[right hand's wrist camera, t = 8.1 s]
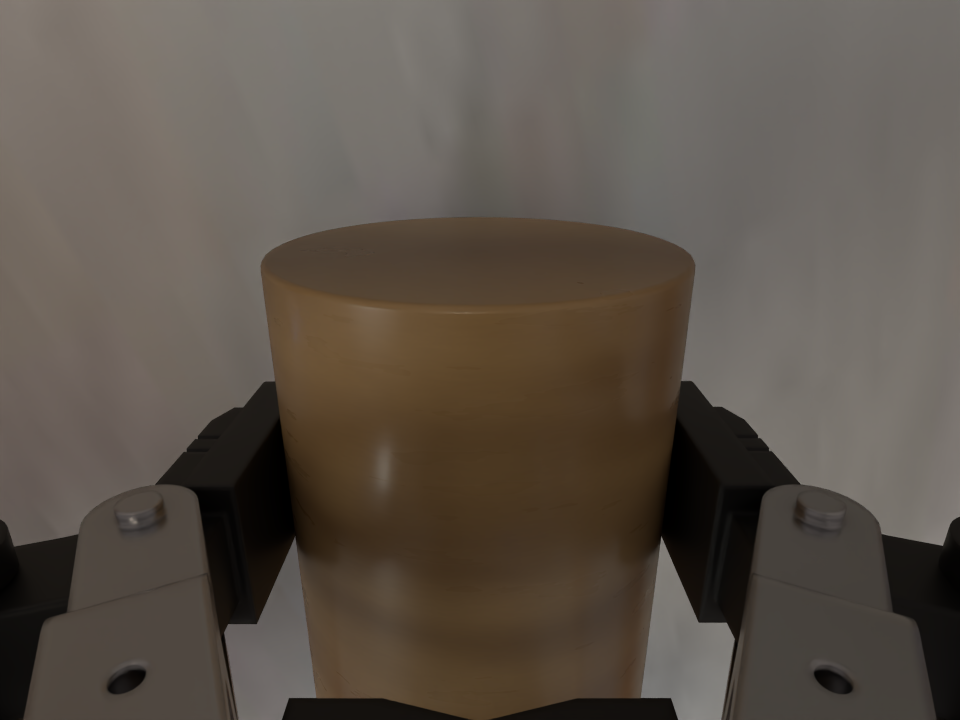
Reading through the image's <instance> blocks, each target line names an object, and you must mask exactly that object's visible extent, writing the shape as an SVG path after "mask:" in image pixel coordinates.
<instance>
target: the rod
mask: <svg viewBox="0 0 960 720" xmlns="http://www.w3.org/2000/svg"><path fill="white" fill-rule="evenodd" d="M694 275H695V262H694V260H693V258H692V256H691V255H690V254H689V253H688V252H687V251H685V250H684V249H682V248H681V247H679V246H677V245H675V244H673V243H670V242H668V241H665V240H663V239H660V238H657V237H654V236H650V235H647V234H643V233H639V232H635V231H631V230H626V229H620V228H615V227H609V226H602V225H596V224H588V223H580V222H570V221H559V220H546V219H529V218H502V217H456V218H429V219H412V220H398V221H388V222H378V223H370V224H362V225H355V226H348V227H342V228H337V229H332V230H326V231H322V232H318V233H314V234H310V235H306V236H303V237H300V238H297V239H294V240H291V241H289V242H286V243H284V244H282V245H280V246H278V247H276V248H274V249H272V250H271V251H270V252H269V253H267V254H266V255H265V257H264V258H263V260H262V263H261V276H262V283H263V291H264V299H265V306H266V314H267V322H268V329H269V337H270V345H271V352H272V360H273V368H274V375H275V383H276V391H277V398H278V406H279V414H280V421H281V429H282V437H283V444H284V452H285V460H286V467H287V475H288V483H289V490H290V498H291V506H292V513H293V521H294V529H295V536H296V544H297V551H298V559H299V567H300V574H301V582H302V590H303V597H304V605H305V613H306V620H307V628H308V636H309V643H310V651H311V659H312V666H313V674H314V682H315V689H316V697H317V698H384V699H388V700H392V701H396V702H401V703H405V704H409V705H413V706H417V707H421V708H425V709H429V710H434V711H438V712H442V713H446V714H450V715H454V716H458V717H462V718H467V719H471V720H489V719H493V718H498V717H502V716H506V715H510V714H514V713H518V712H522V711H526V710H531V709H535V708H539V707H543V706H547V705H551V704H555V703H559V702H564V701H568V700H572V699H576V698H641V690H642V683H643V675H644V667H645V659H646V651H647V643H648V636H649V628H650V620H651V612H652V604H653V596H654V589H655V581H656V573H657V565H658V557H659V549H660V542H661V534H662V526H663V518H664V510H665V502H666V494H667V487H668V479H669V471H670V463H671V455H672V447H673V440H674V432H675V424H676V416H677V408H678V400H679V393H680V385H681V377H682V369H683V361H684V353H685V346H686V338H687V330H688V322H689V314H690V306H691V299H692V291H693V283H694Z"/></svg>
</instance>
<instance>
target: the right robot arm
mask: <svg viewBox="0 0 960 720" xmlns="http://www.w3.org/2000/svg"><path fill="white" fill-rule="evenodd" d="M661 536H662V538H663V541H664V543H665V545H666V548H667V550H668V552H669V555H670V557H671V559H672V562H673V564H674V566H675V569H676V571H677V573H678V576H679V578H680V580H681V582H682V585H683V587H684V589H685V592H686V594H687V596H688V599H689V601H690V603H691V606H692V608H693V610H694V613H695V615H696V617H697V620H698V622H699V623H727V624H728V626H729V628H730V630H731V632H732V634H733V636H734V638H735V640H734V646H733V651H732V656H731V662H730V669H729V675H728V681H727V687H726V693H725V700H724V706H723V712H722V718H721V720H960V517H958V518H956V519H955V520H953V521H952V523H951V524H950V527H949V530H948V533H947V536H946V539H945V542H944V545H943V546H940V545H935V544H930V543H924V542H919V541H914V540H908V539H903V538H898V537H892V536H887V535H883V534H881V529H880V525H879V522H878V521H877V519H876V518H875V517H874V515H873V514H872V513H871V512H870V511H868V510H867V509H866V508H865V507H864V506H862V505H860V504H859V503H857V502H856V501H854V500H852V499H850V498H848V497H846V496H844V495H841V494H839V493H836V492H833V491H830V490H827V489H823V488H820V487H814V486H809V485H801V484H800V483H799V482H798V481H797V480H796V478H795V477H794V476H793V475H792V474H791V473H790V472H789V470H788V469H787V468H786V467H785V466H784V465H783V463H782V462H781V461H780V460H779V459H778V458H777V457H776V455H775V454H774V453H773V452H772V451H769V447H768V446H767V445H766V444H765V443H764V442H763V440H762V439H761V438H758V435H757V434H756V432H755V431H754V430H753V429H752V428H751V427H750V426H749V424H748V423H747V422H746V421H745V420H744V419H742V418H740V417H739V416H737V415H735V414H733V413H732V412H730V411H728V410H726V409H725V408H723V407H712V405H711V404H710V403H709V402H708V400H707V399H706V398H705V397H704V395H703V394H702V393H701V392H700V390H699V389H698V388H697V387H696V385H695V384H694V383H693V382H692V381H681V385H680V393H679V400H678V408H677V416H676V424H675V432H674V440H673V447H672V455H671V463H670V471H669V479H668V487H667V494H666V502H665V510H664V518H663V526H662V534H661ZM294 538H295V529H294V521H293V513H292V506H291V498H290V490H289V483H288V475H287V467H286V460H285V452H284V444H283V437H282V429H281V421H280V414H279V406H278V398H277V391H276V383H275V382H264V383H263V384H262V385H261V386H260V388H259V389H258V390H257V391H256V393H255V394H254V395H253V396H252V397H251V399H250V400H249V401H248V402H247V404H246V405H245V406H244V407H243V408H233V409H231V410H229V411H228V412H226V413H224V414H222V415H221V416H219V417H217V418H215V419H214V420H212V421H211V422H210V423H209V424H208V425H207V426H206V427H205V429H204V430H203V431H202V432H201V433H200V434H199V435H198V439H195V440H194V441H193V442H192V443H191V445H190V446H189V447H188V448H187V452H183V454H182V455H181V456H180V457H179V458H178V459H177V460H176V462H175V463H174V464H173V465H172V466H171V467H170V468H169V470H168V471H167V472H166V473H165V474H164V475H163V476H162V477H161V479H160V480H159V481H158V482H157V483H156V484H155V485H151V486H146V487H140V488H137V489H133V490H130V491H127V492H124V493H121V494H119V495H116V496H114V497H112V498H110V499H108V500H106V501H104V502H103V503H101V504H99V505H98V506H96V507H95V508H94V509H93V510H92V511H90V512H89V513H88V514H87V515H86V517H85V518H84V519H83V521H82V522H81V525H80V529H79V534H77V535H73V536H69V537H64V538H59V539H53V540H48V541H43V542H37V543H32V544H27V545H21V546H16V547H14V545H13V542H12V539H11V536H10V533H9V530H8V527H7V525H6V524H5V522H3V521H2V520H0V720H239V718H238V712H237V706H236V700H235V693H234V687H233V681H232V675H231V669H230V662H229V656H228V651H227V646H226V640H225V635H224V631H225V629H226V627H227V625H228V624H257V622H258V620H259V618H260V615H261V613H262V611H263V609H264V606H265V604H266V602H267V599H268V597H269V595H270V593H271V590H272V588H273V586H274V583H275V581H276V579H277V577H278V574H279V572H280V570H281V567H282V565H283V563H284V561H285V558H286V556H287V554H288V551H289V549H290V547H291V545H292V542H293V540H294ZM282 720H471V719H467V718H462V717H458V716H454V715H450V714H446V713H442V712H438V711H434V710H429V709H425V708H421V707H417V706H413V705H409V704H405V703H401V702H396V701H392V700H388V699H384V698H289V700H288V703H287V706H286V709H285V712H284V715H283V718H282ZM489 720H678V718H677V715H676V712H675V709H674V706H673V703H672V700H671V698H576V699H572V700H568V701H564V702H559V703H555V704H551V705H547V706H543V707H539V708H535V709H531V710H526V711H522V712H518V713H514V714H510V715H506V716H502V717H498V718H493V719H489Z"/></svg>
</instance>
